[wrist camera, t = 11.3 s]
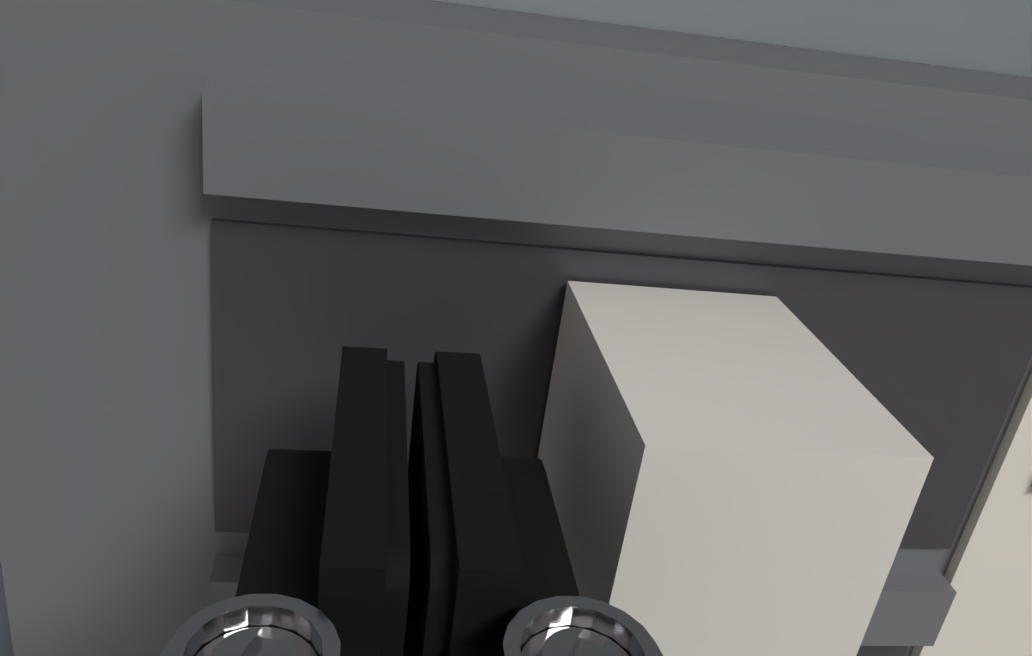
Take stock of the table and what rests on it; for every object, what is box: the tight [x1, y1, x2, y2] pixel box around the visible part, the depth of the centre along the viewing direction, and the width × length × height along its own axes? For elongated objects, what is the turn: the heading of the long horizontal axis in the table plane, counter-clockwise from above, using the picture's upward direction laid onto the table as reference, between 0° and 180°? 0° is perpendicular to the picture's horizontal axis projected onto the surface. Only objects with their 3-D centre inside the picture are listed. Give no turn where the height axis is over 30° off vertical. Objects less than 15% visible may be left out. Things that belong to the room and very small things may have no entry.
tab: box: [537, 281, 934, 656], centre depth 11 cm, size 4×3×4 cm
